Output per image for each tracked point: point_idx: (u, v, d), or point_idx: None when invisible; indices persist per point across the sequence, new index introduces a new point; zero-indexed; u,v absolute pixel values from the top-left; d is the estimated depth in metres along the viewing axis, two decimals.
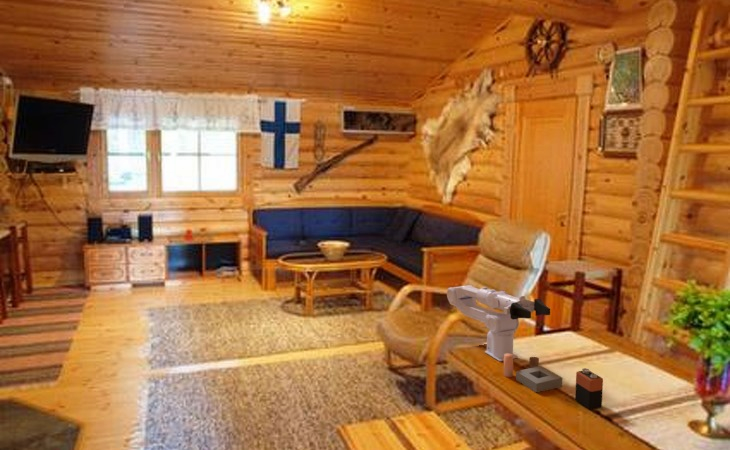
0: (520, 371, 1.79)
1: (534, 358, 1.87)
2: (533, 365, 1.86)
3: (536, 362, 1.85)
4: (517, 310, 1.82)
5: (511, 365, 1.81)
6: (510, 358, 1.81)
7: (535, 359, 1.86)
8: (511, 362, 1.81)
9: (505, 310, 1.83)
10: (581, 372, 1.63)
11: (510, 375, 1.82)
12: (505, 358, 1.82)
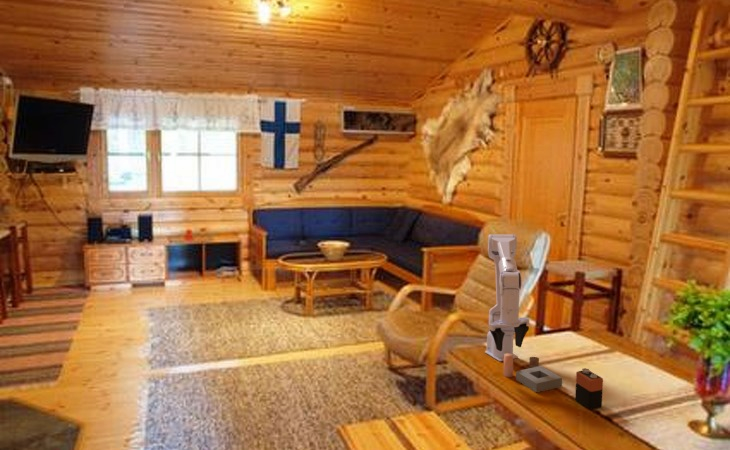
0: (520, 371, 1.79)
1: (534, 358, 1.87)
2: (533, 365, 1.86)
3: (536, 362, 1.85)
4: None
5: (511, 365, 1.81)
6: (510, 358, 1.81)
7: (535, 359, 1.86)
8: (511, 362, 1.81)
9: (491, 327, 1.78)
10: (581, 372, 1.63)
11: (510, 375, 1.82)
12: (505, 358, 1.82)
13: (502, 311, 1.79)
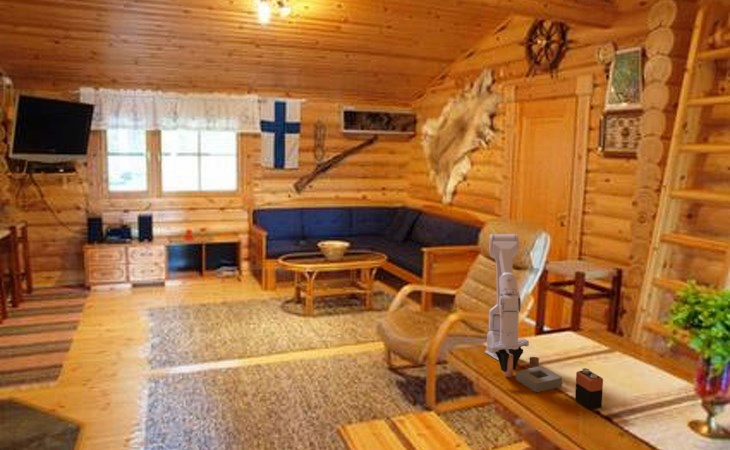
0: (520, 371, 1.79)
1: (534, 358, 1.87)
2: (533, 365, 1.86)
3: (536, 362, 1.85)
4: None
5: (511, 365, 1.81)
6: (510, 358, 1.81)
7: (535, 359, 1.86)
8: (511, 362, 1.81)
9: (490, 349, 1.79)
10: (581, 372, 1.63)
11: (510, 375, 1.82)
12: None
13: (502, 333, 1.80)
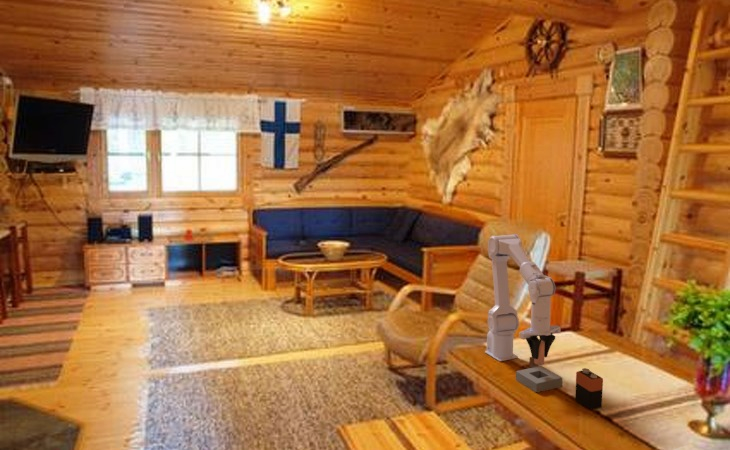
0: (520, 371, 1.79)
1: None
2: (533, 365, 1.86)
3: None
4: None
5: (542, 352, 1.74)
6: (542, 345, 1.74)
7: None
8: (543, 349, 1.74)
9: (521, 336, 1.71)
10: (581, 372, 1.63)
11: (541, 362, 1.74)
12: None
13: (533, 319, 1.73)
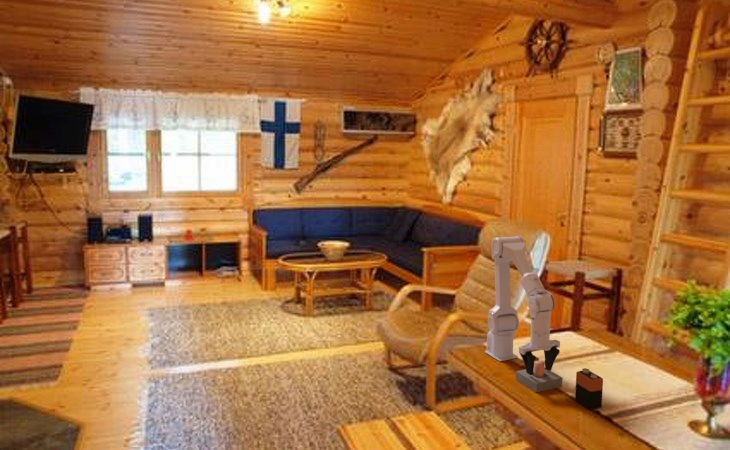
0: (520, 371, 1.79)
1: None
2: (533, 365, 1.86)
3: None
4: None
5: (542, 373, 1.75)
6: (541, 366, 1.75)
7: (535, 359, 1.86)
8: (542, 370, 1.75)
9: (521, 351, 1.72)
10: (581, 372, 1.63)
11: None
12: (536, 366, 1.75)
13: (532, 334, 1.73)
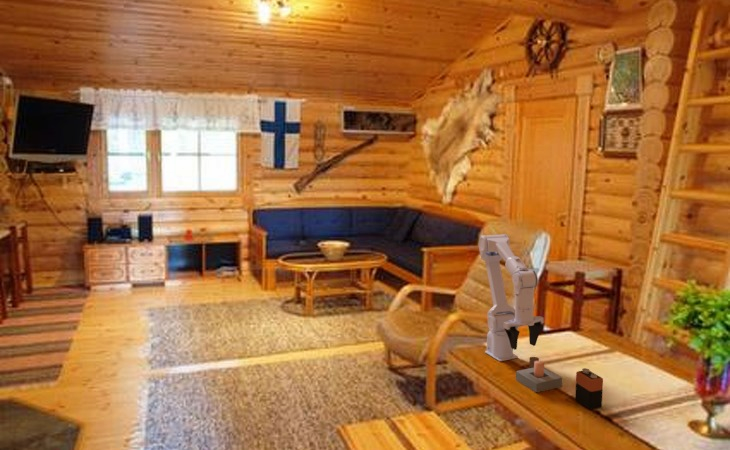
0: (520, 371, 1.79)
1: (534, 358, 1.87)
2: (533, 365, 1.86)
3: None
4: None
5: (542, 373, 1.75)
6: (541, 366, 1.75)
7: (535, 359, 1.86)
8: (542, 370, 1.75)
9: (505, 326, 1.79)
10: (581, 372, 1.63)
11: None
12: (536, 366, 1.75)
13: (517, 310, 1.80)
